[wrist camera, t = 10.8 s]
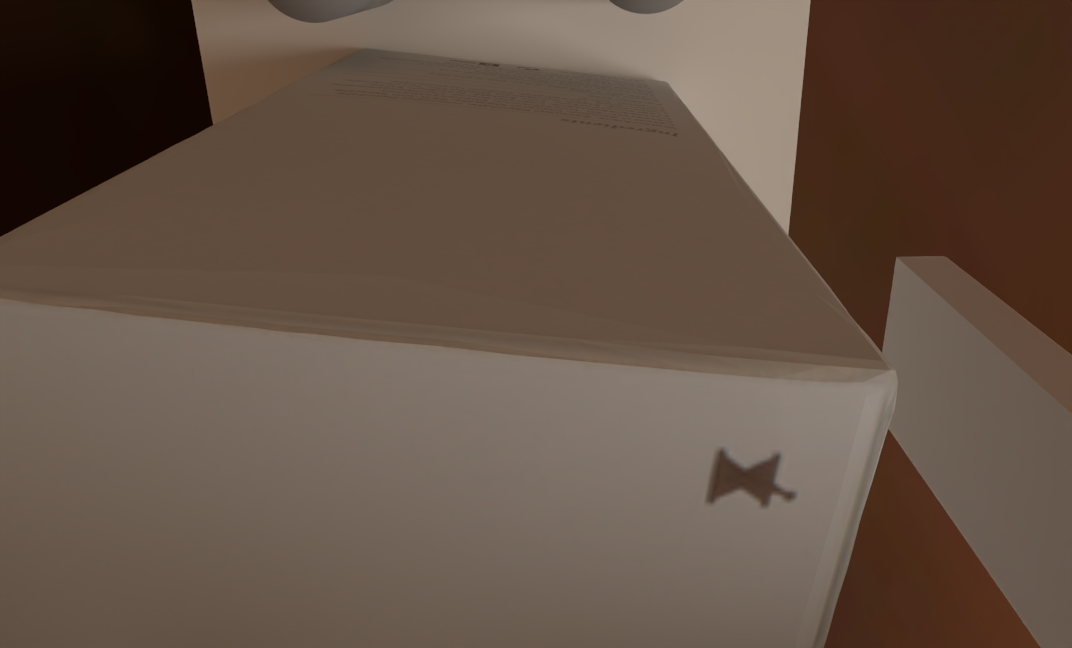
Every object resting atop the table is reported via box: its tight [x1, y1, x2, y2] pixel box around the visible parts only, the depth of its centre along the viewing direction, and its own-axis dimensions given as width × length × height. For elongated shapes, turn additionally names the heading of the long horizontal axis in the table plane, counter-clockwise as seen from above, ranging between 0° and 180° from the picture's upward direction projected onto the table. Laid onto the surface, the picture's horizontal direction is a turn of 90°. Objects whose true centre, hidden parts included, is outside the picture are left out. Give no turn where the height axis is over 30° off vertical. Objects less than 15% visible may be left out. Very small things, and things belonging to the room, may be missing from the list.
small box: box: [0, 49, 898, 648], centre depth 13 cm, size 8×6×13 cm
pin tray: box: [191, 0, 810, 235], centre depth 17 cm, size 12×15×6 cm
